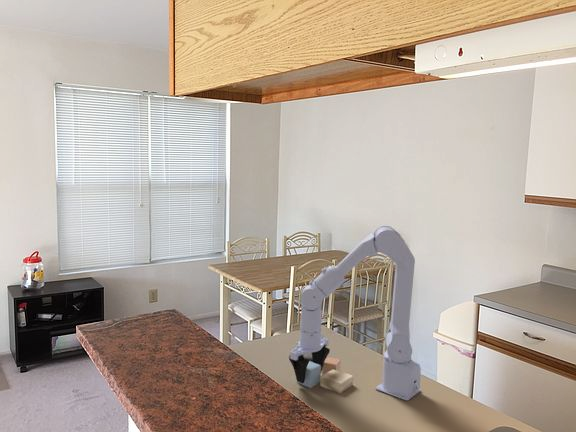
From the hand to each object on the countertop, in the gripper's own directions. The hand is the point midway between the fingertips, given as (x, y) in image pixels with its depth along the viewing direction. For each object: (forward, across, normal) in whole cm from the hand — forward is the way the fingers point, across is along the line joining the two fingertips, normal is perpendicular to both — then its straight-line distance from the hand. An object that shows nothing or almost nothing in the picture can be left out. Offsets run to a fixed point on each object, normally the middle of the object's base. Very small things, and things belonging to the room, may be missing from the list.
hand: (308, 377), depth 133 cm
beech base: (+2, -4, +7) cm, 8 cm away
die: (+2, -14, -10) cm, 17 cm away
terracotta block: (+2, -9, +1) cm, 9 cm away
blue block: (+2, 0, 0) cm, 2 cm away
